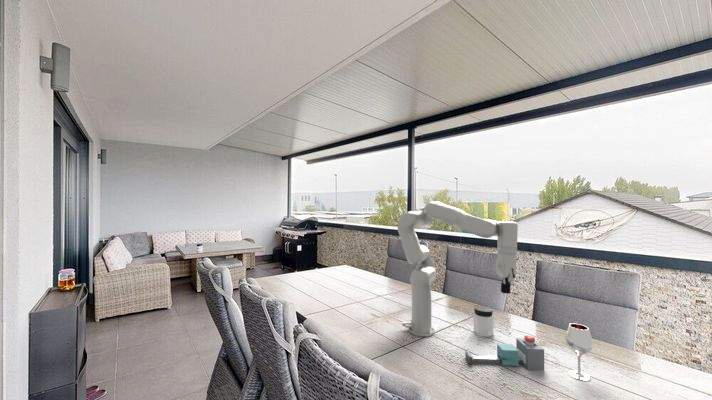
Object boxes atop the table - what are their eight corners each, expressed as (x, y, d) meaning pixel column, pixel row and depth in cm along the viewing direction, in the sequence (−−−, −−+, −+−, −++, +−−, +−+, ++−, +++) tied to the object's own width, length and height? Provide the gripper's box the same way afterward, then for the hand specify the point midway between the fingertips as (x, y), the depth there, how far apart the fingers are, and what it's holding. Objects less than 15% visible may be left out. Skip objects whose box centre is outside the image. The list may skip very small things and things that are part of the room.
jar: (485, 338, 137) (485, 313, 137) (470, 332, 144) (470, 308, 144) (496, 334, 142) (496, 309, 142) (481, 328, 149) (481, 304, 149)
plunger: (527, 352, 114) (527, 339, 114) (522, 347, 117) (522, 335, 118) (537, 352, 114) (536, 339, 114) (531, 348, 117) (531, 335, 117)
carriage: (502, 365, 114) (502, 350, 114) (497, 358, 119) (497, 343, 119) (518, 365, 113) (518, 350, 113) (512, 358, 118) (512, 344, 118)
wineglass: (560, 369, 111) (559, 322, 112) (580, 369, 112) (579, 321, 112) (578, 383, 103) (577, 331, 103) (599, 381, 104) (599, 331, 104)
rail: (469, 365, 114) (469, 356, 114) (465, 358, 119) (465, 350, 119) (525, 367, 113) (525, 358, 113) (518, 360, 118) (518, 352, 118)
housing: (527, 370, 111) (527, 348, 111) (515, 357, 120) (515, 338, 120) (544, 370, 111) (544, 349, 111) (531, 358, 120) (531, 338, 120)
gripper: (491, 246, 133) (489, 287, 133) (505, 252, 118) (503, 298, 118) (508, 247, 132) (507, 288, 133) (524, 253, 118) (523, 299, 118)
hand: (505, 292), depth 125 cm, fingers closed
